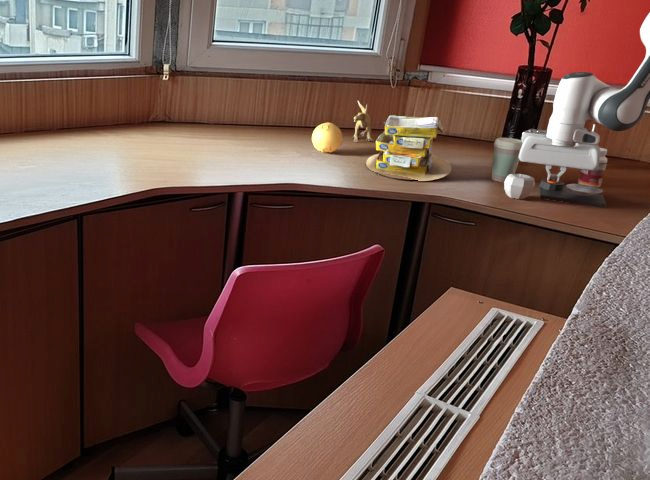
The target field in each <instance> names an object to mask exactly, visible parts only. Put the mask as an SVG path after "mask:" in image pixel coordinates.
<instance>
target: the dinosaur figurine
mask: <svg viewBox="0 0 650 480" xmlns="http://www.w3.org/2000/svg"><path fill="white" fill-rule="evenodd" d="M357 104H358V106H359V108H360V110H361V112H358V113H357V114H356V115H355V116H354V117H353V122H354V123H355V126H354V135H353V136H352V137H351V138H350V139H352V140H353V143H359V136H361V137H364V136H365V134H366V138H365V141H366V142H374V140H373V138H372V126H371V125H372V122H371V121H372V120H371V117H370V115H369V113H368V107H369V103H366V105H365V107H364V106H363V105H362V104H361V103H360V101H359V100H357ZM360 128H361V129H365V130H364V131H361V132H360Z"/></svg>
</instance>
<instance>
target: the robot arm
mask: <svg viewBox="0 0 650 480" xmlns="http://www.w3.org/2000/svg"><path fill="white" fill-rule="evenodd" d="M639 37H640V40H641V43H642V44H643V45H644V47H645V57H644V59H643V61H642V62H641V63H640V65H639V67H638V69H636V71H635V73H634V74H633V75H632V77H631V78H630V80H629V81H628V83H627V84H626V85H625V86H624V87H622V88H621V89H620V88H617V87H613V86H611V85H609V84H608V83H605V82H603V81H602V80H600V79H599V78H598V77H596V76H595V74H594V73H592V72H590V71H589V72H588V71H576V72H575V71H574V72H570V73H568V74H565V75H564V76H562V78H561V79H560V81H559V83H558V86H557V89H556V92H555V95H554V98H553V103H552V107H553V109H552V113H551V116H550V117H549V119H548V124H547V129H535V128H529V129H527V130H524V131H523V132H522V133H521V137H520V140H521V142H522V146H521V149H520V152H519V157H518V158H519V162H522V163H530V164H538V165H539V164H540V165H545V170H546V174H547V177H546V179H547V181H554V182H558V181H560V178H561V176H563V174H564V173H566V171H567V168H570V169H576V170H577V169H578V170H581V169H585V170H595V169H597V168H598V165H599V160H600V148H601V147H600V146H599V143H600V142H599V141H601V135H599V134H598V133H597V132H595V131H594V132H593V131H592V130H590V129H588V128H585V125H586V122H587V121H588V120H591V121H593V122H596V123H598V124H600V125H602V126H603V127H604V128H605V127H606V129H608V130H610V131H613V132H624V131H628V130H630V129H632V128H633V127H635V126H636V125H638V123H639V122H640V121H641V120H642V118H643V116H644V115H645V112H646V109H647V106H648V104H649V101H650V12H649V13H647V15H646V17H645V19H644V20H643V22H642V24H641V25H640V28H639ZM553 166H554V167H559V172H558V173H551V171H550V170H552V167H553Z"/></svg>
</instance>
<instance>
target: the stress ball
mask: <svg viewBox="0 0 650 480" xmlns="http://www.w3.org/2000/svg"><path fill="white" fill-rule="evenodd" d="M311 142H312V145H313V147H314V148H315V149H316V150H317V151H319V152H320V151H321V152H320V153H323V152H330V153H332V152H334V151H336V150H337V149H338V148H340V146H341V145H342V143H343V133H342V130H341V128H340V127H339V126H337V125H336V124H334V123H333V122H324V123H321V124H319V125H317V126H316V127H315V128H314V130H313V132H312V135H311Z"/></svg>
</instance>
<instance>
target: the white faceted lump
mask: <svg viewBox="0 0 650 480" xmlns="http://www.w3.org/2000/svg"><path fill="white" fill-rule="evenodd" d="M535 186H536V182H535V178H534V177H533V176H531V175H527V174H522V173H515V174H509V175H508V176H507V178H506V179H505V181H504V182H503V188H504V192H505V195H506V196H507V197H509V198H511V199H514V198H515V199H514V200H525V199H526V198H527V197H528V196H529V195H530V194H531V193H532V191H533V189H534V187H535Z"/></svg>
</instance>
